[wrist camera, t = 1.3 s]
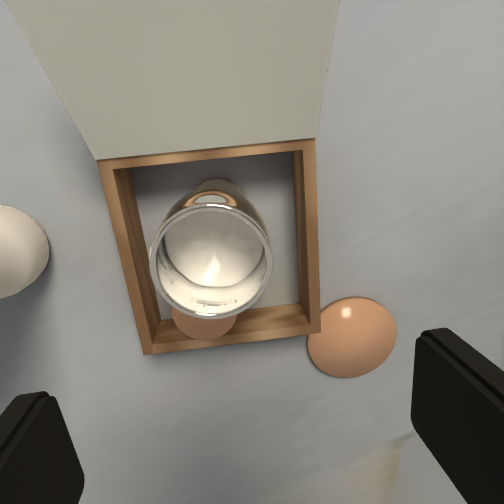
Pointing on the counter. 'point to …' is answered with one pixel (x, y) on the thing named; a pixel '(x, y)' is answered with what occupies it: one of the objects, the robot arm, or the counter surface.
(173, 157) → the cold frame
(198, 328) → the peach rounded cylinder
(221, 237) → the beer glass
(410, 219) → the counter surface
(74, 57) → the propped lid
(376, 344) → the orange dish
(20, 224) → the bottle
